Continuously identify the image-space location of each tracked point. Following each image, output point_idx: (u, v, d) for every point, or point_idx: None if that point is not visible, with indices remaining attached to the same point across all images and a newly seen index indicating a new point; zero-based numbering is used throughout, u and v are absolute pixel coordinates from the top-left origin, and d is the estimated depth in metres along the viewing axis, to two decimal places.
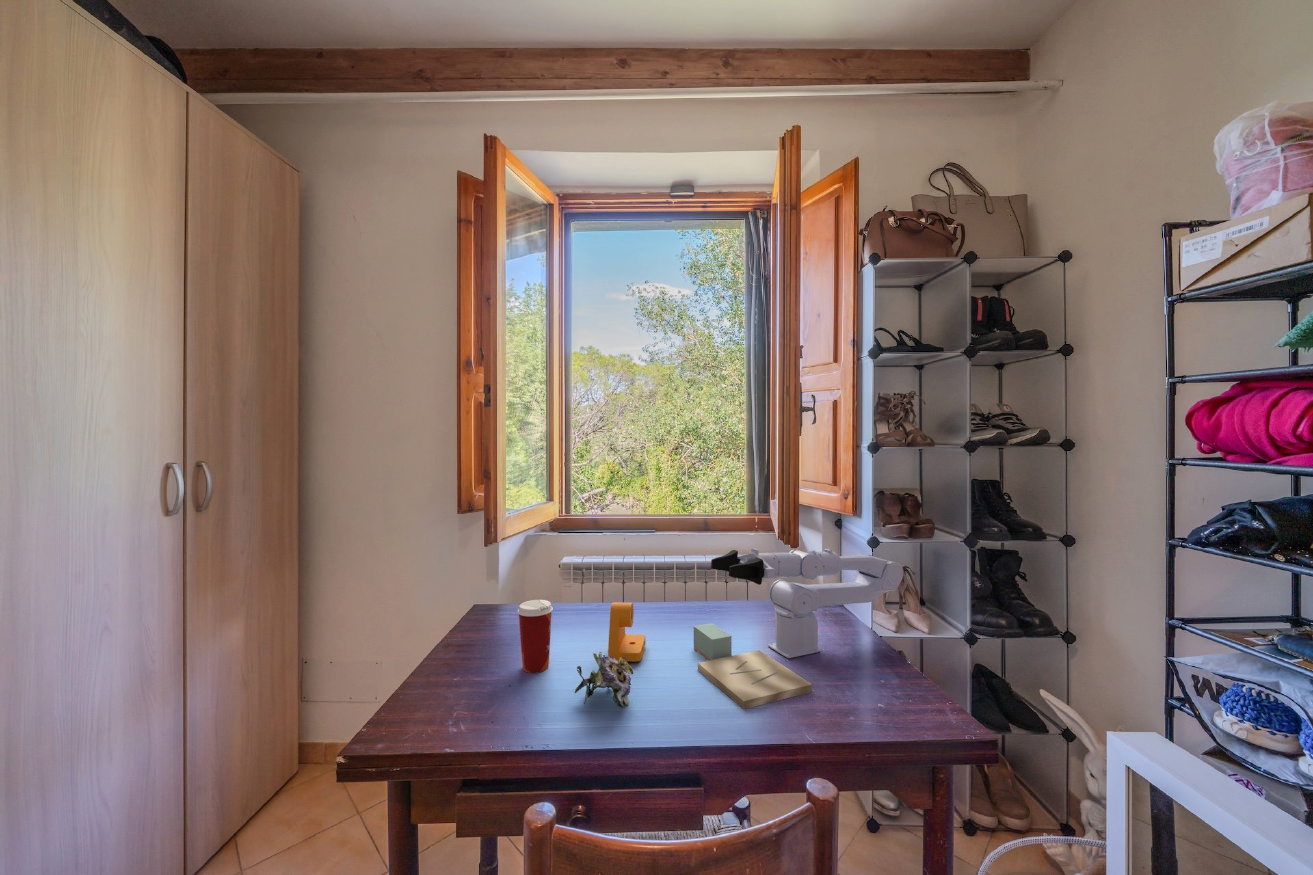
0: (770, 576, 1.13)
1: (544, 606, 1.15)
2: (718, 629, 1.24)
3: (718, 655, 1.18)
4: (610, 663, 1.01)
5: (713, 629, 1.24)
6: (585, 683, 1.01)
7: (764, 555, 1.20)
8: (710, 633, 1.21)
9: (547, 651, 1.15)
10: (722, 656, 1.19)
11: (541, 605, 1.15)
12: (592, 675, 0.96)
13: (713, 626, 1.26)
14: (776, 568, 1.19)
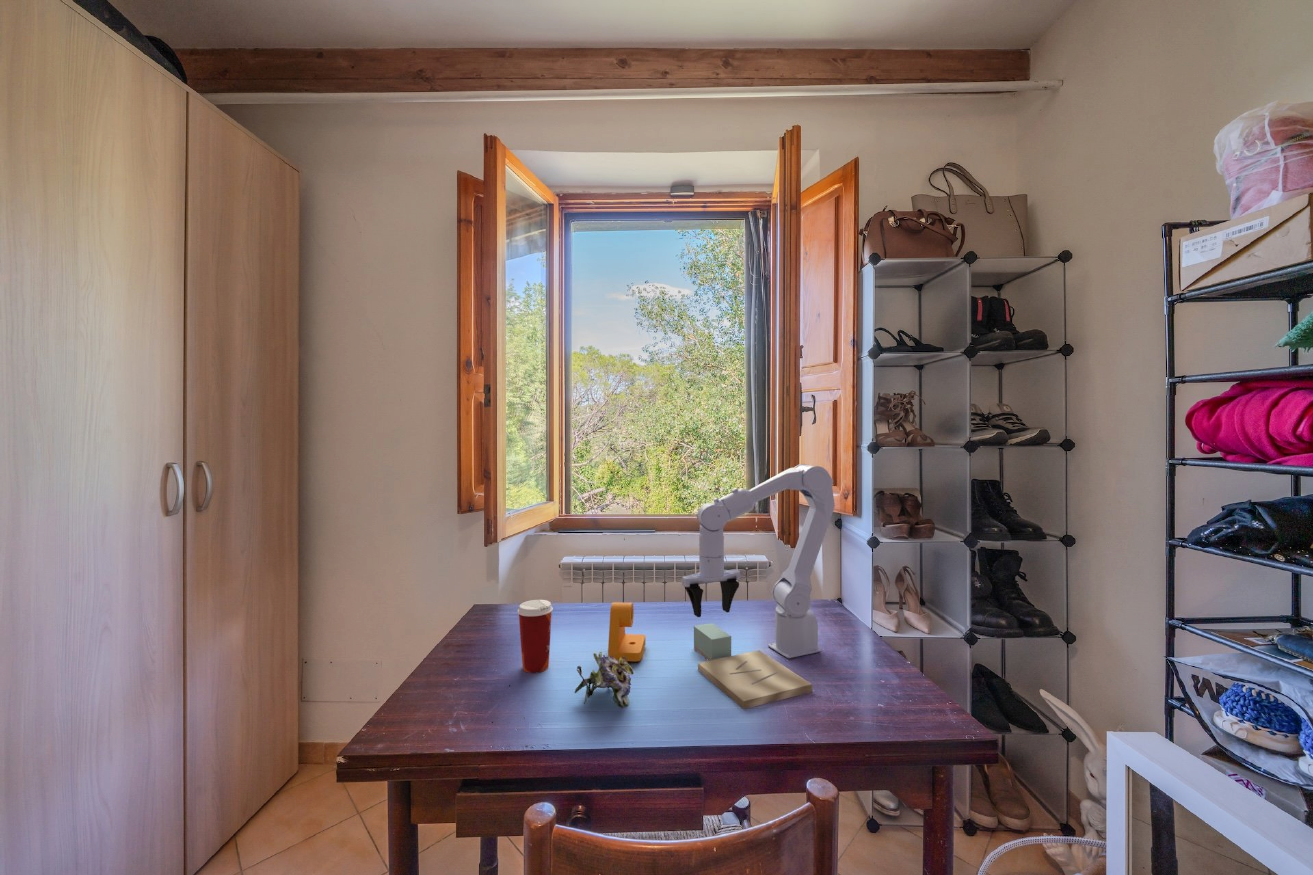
0: (685, 582, 1.19)
1: (544, 606, 1.15)
2: (718, 629, 1.24)
3: (717, 655, 1.18)
4: (610, 663, 1.01)
5: (713, 629, 1.24)
6: (585, 683, 1.01)
7: None
8: (710, 633, 1.22)
9: (547, 651, 1.15)
10: (722, 656, 1.19)
11: (541, 605, 1.15)
12: (592, 675, 0.96)
13: (713, 626, 1.26)
14: (700, 559, 1.22)
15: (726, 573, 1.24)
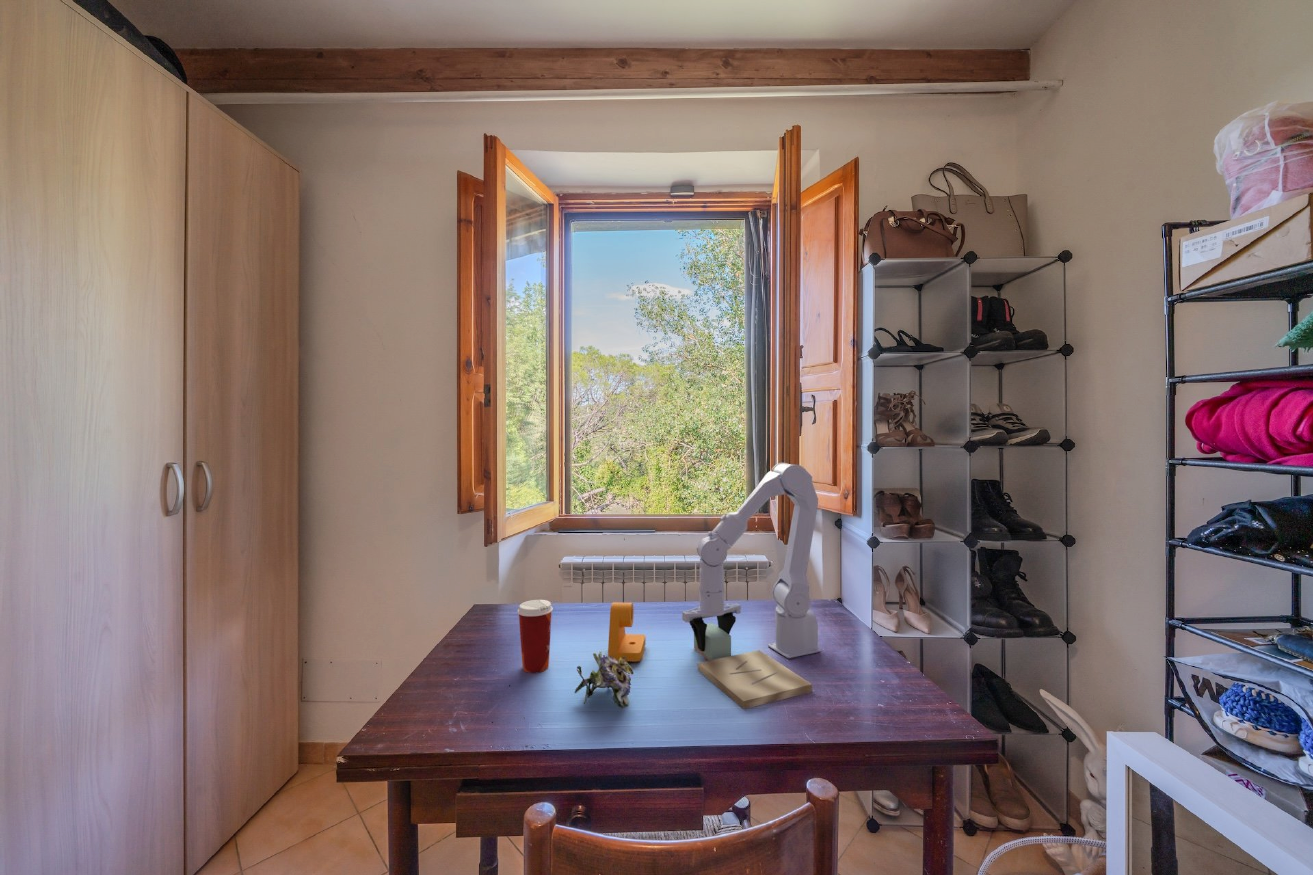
0: (685, 618, 1.19)
1: (544, 606, 1.15)
2: (718, 629, 1.24)
3: (717, 655, 1.18)
4: (610, 663, 1.01)
5: (713, 629, 1.24)
6: (585, 683, 1.01)
7: None
8: (710, 632, 1.22)
9: (547, 651, 1.15)
10: (721, 656, 1.19)
11: (541, 605, 1.15)
12: (592, 675, 0.96)
13: (713, 626, 1.26)
14: (701, 593, 1.22)
15: (726, 607, 1.24)
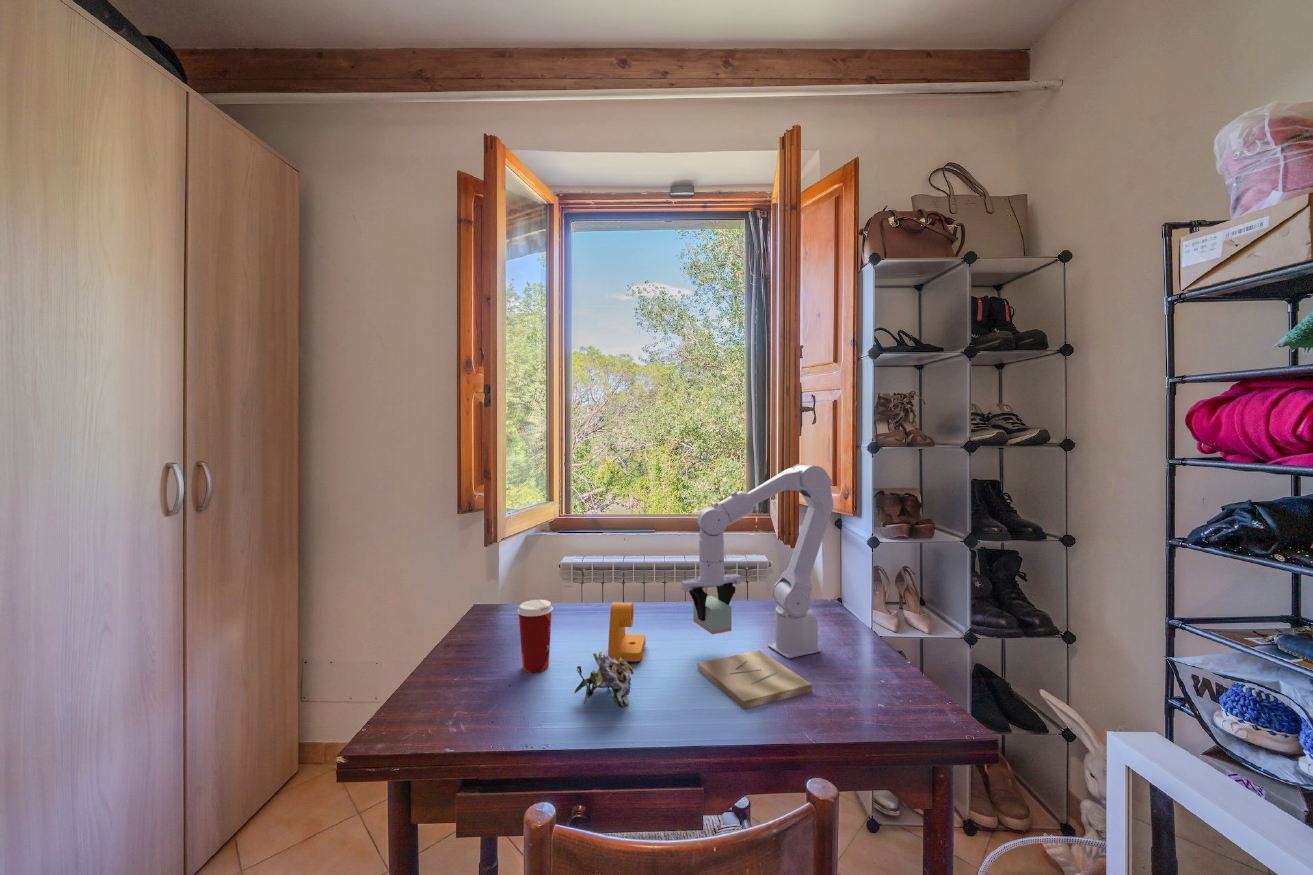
0: (685, 587, 1.19)
1: (544, 606, 1.15)
2: (718, 601, 1.24)
3: (718, 626, 1.18)
4: (610, 663, 1.01)
5: (713, 601, 1.24)
6: (585, 683, 1.01)
7: None
8: (710, 604, 1.21)
9: (547, 651, 1.15)
10: (722, 627, 1.19)
11: (541, 605, 1.15)
12: (592, 675, 0.96)
13: (713, 598, 1.26)
14: (701, 563, 1.22)
15: (726, 577, 1.24)
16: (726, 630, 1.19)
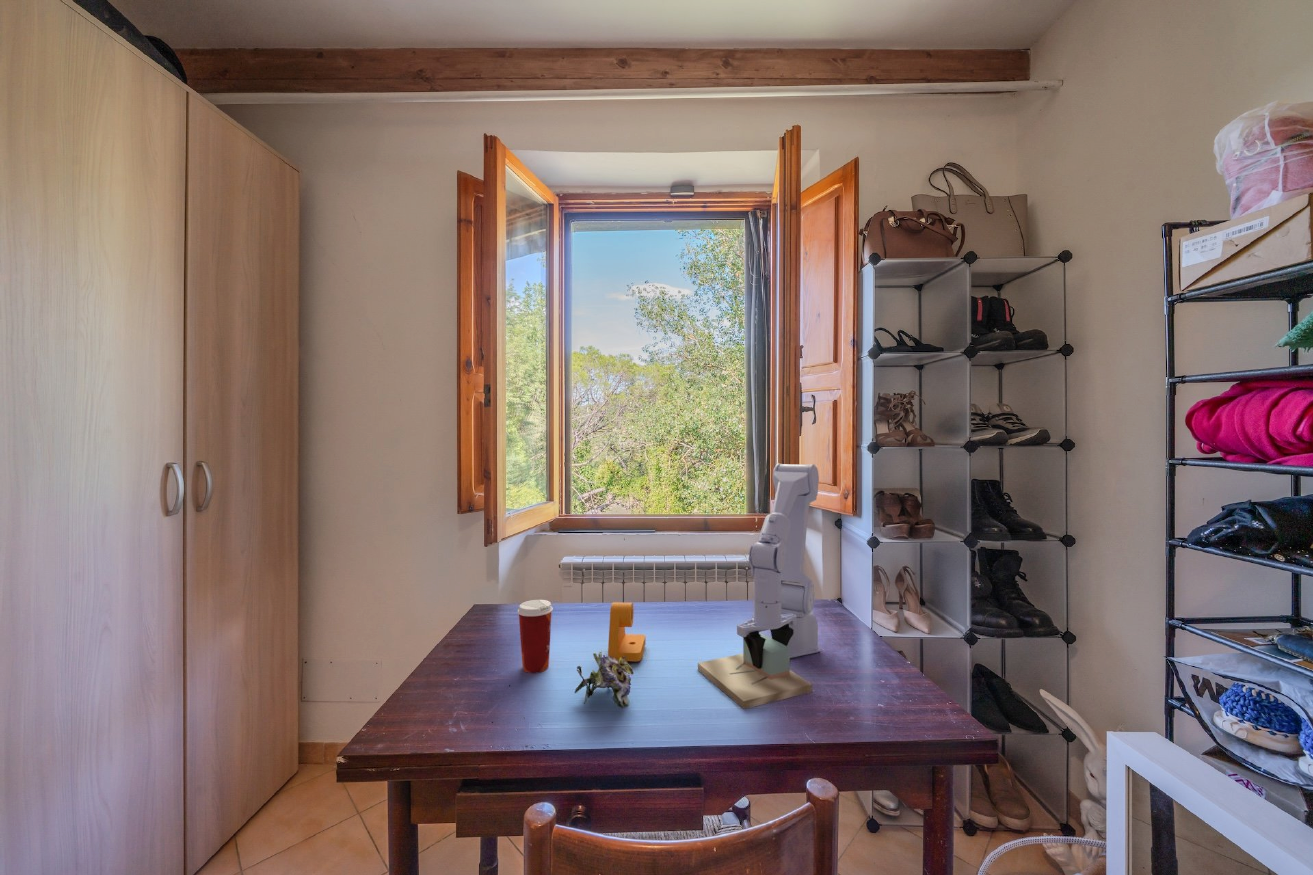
0: (741, 632, 1.07)
1: (544, 606, 1.15)
2: (772, 640, 1.13)
3: (776, 669, 1.07)
4: (610, 663, 1.01)
5: (766, 640, 1.13)
6: (585, 683, 1.01)
7: None
8: (765, 645, 1.10)
9: (547, 651, 1.15)
10: (780, 670, 1.08)
11: (541, 605, 1.15)
12: (592, 675, 0.96)
13: (764, 637, 1.15)
14: (756, 604, 1.10)
15: (782, 618, 1.13)
16: (784, 674, 1.08)
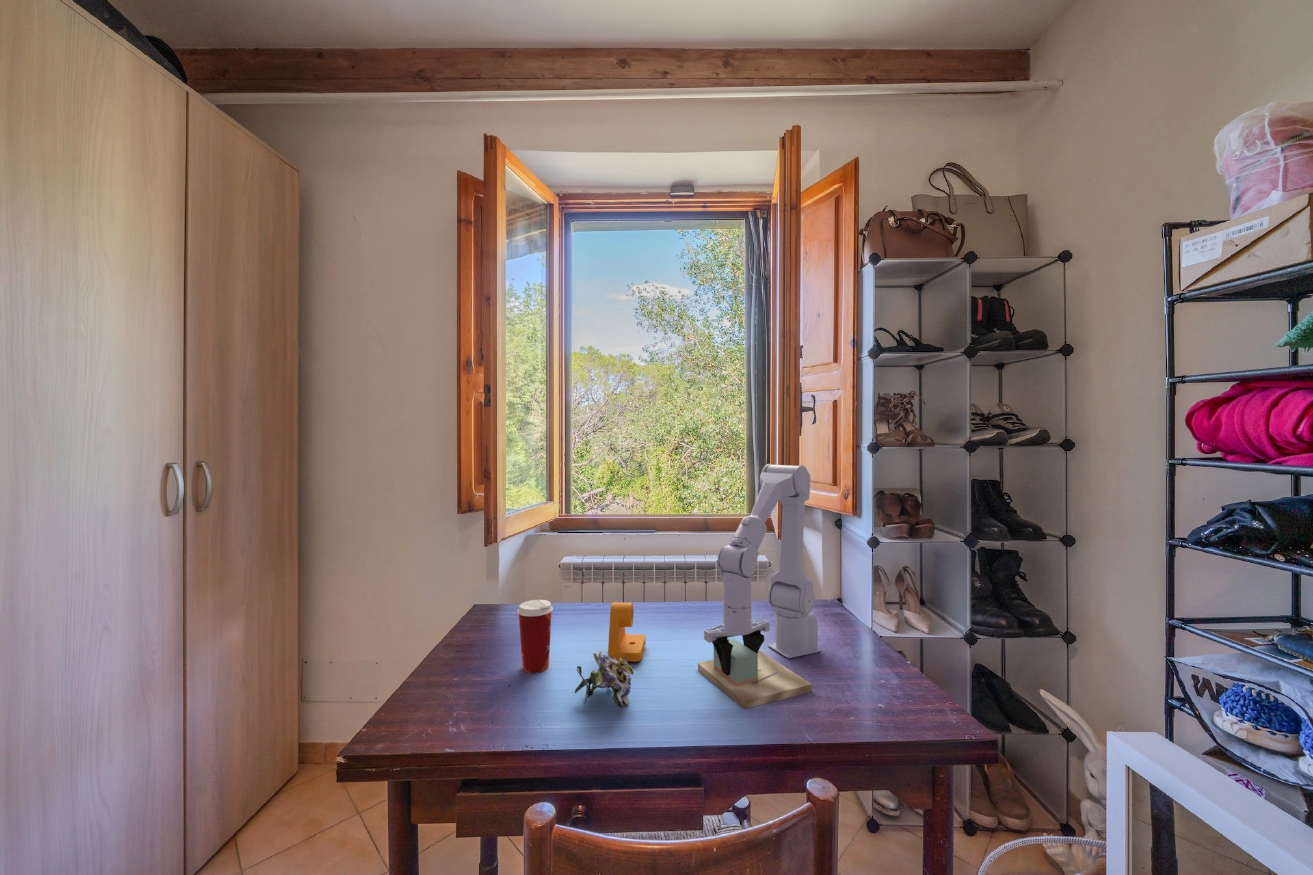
0: (707, 637, 1.05)
1: (544, 606, 1.15)
2: (742, 646, 1.10)
3: (743, 676, 1.04)
4: (610, 663, 1.01)
5: (736, 645, 1.10)
6: (585, 683, 1.01)
7: None
8: (733, 650, 1.08)
9: (547, 651, 1.15)
10: (747, 677, 1.05)
11: (541, 605, 1.15)
12: (592, 675, 0.96)
13: (735, 642, 1.12)
14: (725, 609, 1.07)
15: (753, 624, 1.09)
16: (752, 681, 1.05)
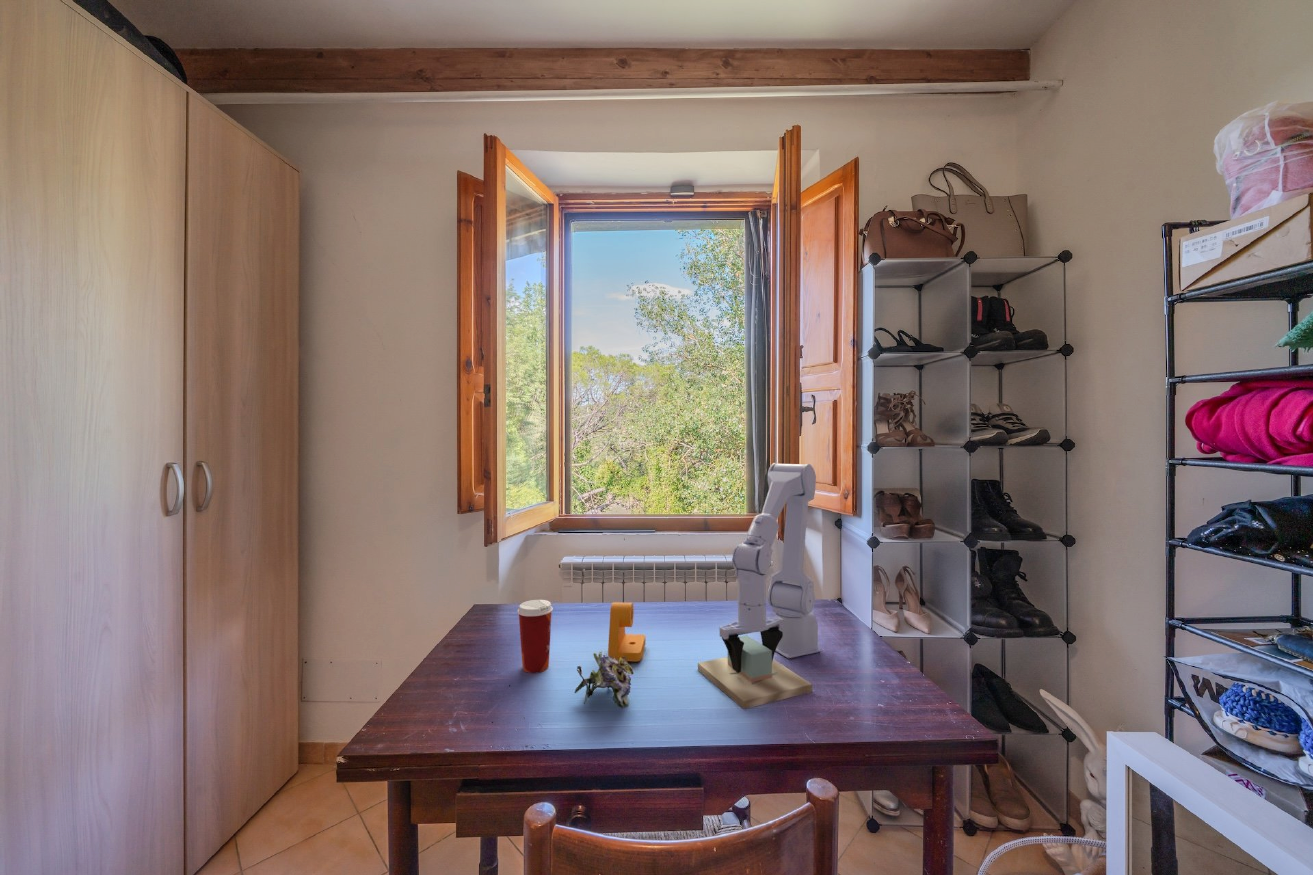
0: (723, 634, 1.06)
1: (544, 606, 1.15)
2: (755, 642, 1.11)
3: (757, 672, 1.06)
4: (610, 663, 1.01)
5: (750, 642, 1.12)
6: (585, 683, 1.01)
7: None
8: (747, 647, 1.09)
9: (547, 651, 1.15)
10: (762, 673, 1.06)
11: (541, 605, 1.15)
12: (592, 675, 0.96)
13: (749, 639, 1.13)
14: (740, 606, 1.08)
15: (768, 621, 1.11)
16: (766, 677, 1.07)
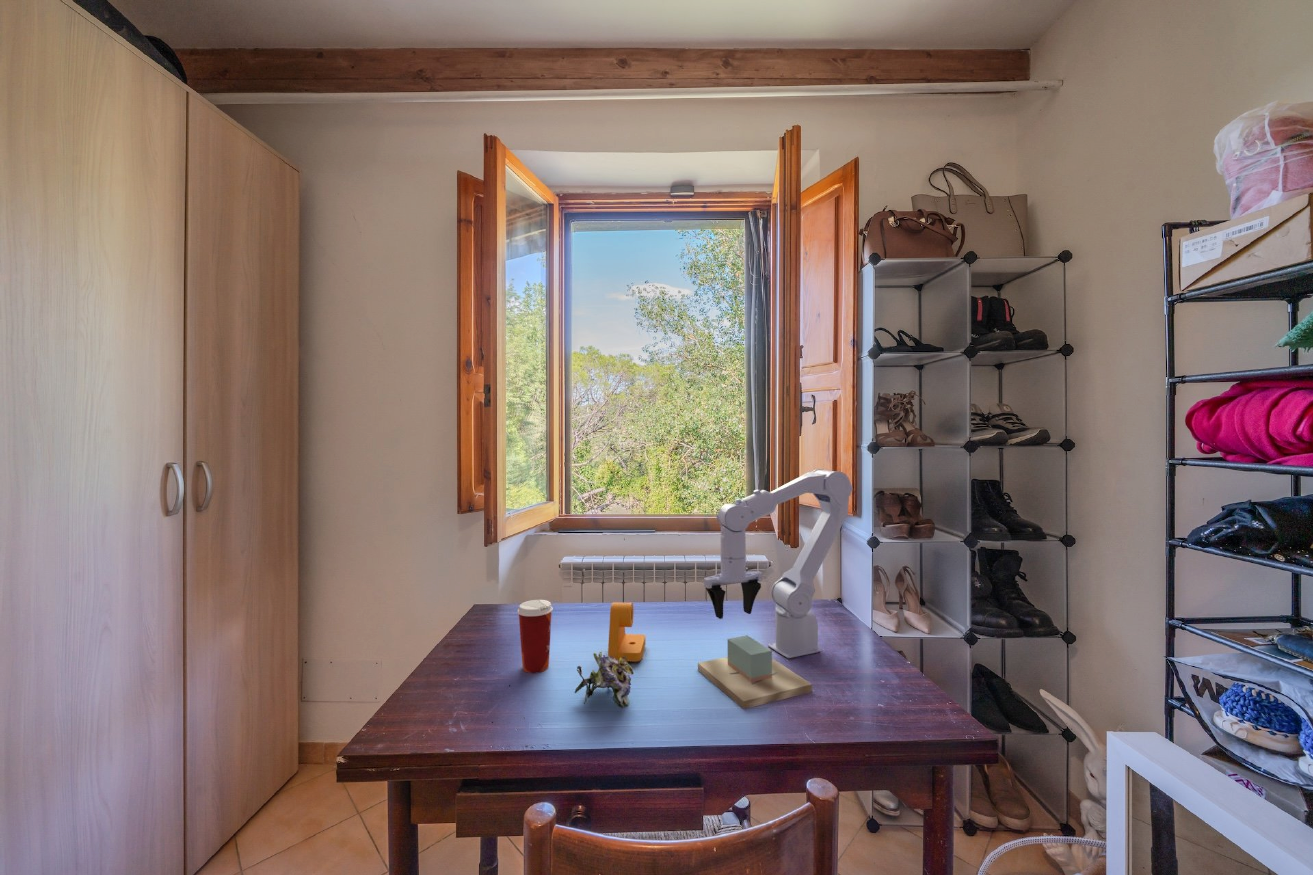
0: (706, 584, 1.18)
1: (544, 606, 1.15)
2: (755, 642, 1.11)
3: (757, 672, 1.06)
4: (610, 663, 1.01)
5: (750, 642, 1.12)
6: (585, 683, 1.01)
7: None
8: (747, 647, 1.09)
9: (547, 651, 1.15)
10: (762, 673, 1.06)
11: (541, 605, 1.15)
12: (592, 675, 0.96)
13: (749, 639, 1.13)
14: (722, 560, 1.20)
15: (747, 574, 1.23)
16: (766, 677, 1.07)
